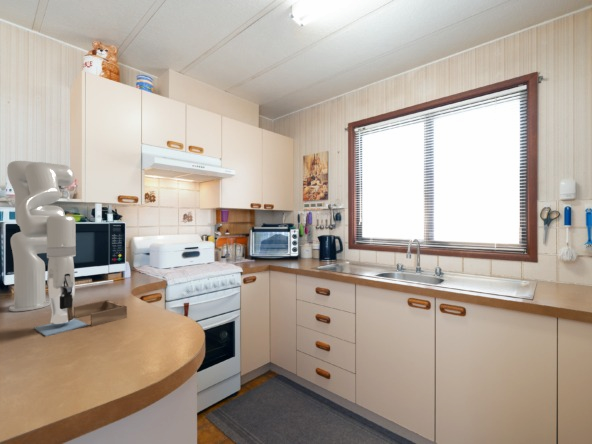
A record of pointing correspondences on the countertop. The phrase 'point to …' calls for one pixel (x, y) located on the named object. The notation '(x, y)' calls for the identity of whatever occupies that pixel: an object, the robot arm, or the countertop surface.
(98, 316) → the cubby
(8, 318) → the countertop surface
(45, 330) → the mat
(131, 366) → the countertop surface
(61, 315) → the beer glass
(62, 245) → the robot arm
